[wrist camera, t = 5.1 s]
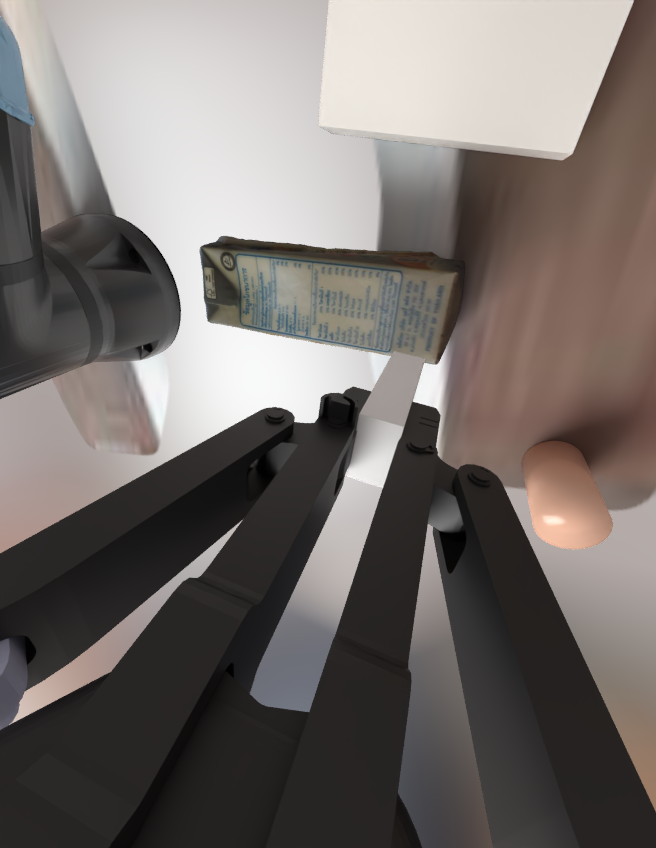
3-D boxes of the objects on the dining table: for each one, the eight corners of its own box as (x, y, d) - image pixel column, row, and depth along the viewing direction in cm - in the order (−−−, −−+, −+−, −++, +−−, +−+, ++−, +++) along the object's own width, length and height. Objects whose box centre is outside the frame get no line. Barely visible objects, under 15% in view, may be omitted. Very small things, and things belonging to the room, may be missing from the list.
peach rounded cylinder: (513, 475, 35) (521, 534, 29) (535, 434, 32) (550, 488, 26) (568, 492, 34) (590, 557, 27) (596, 450, 31) (627, 512, 25)
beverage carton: (254, 304, 36) (251, 229, 32) (451, 339, 30) (473, 254, 27) (203, 325, 29) (193, 234, 26) (442, 373, 24) (469, 267, 21)
